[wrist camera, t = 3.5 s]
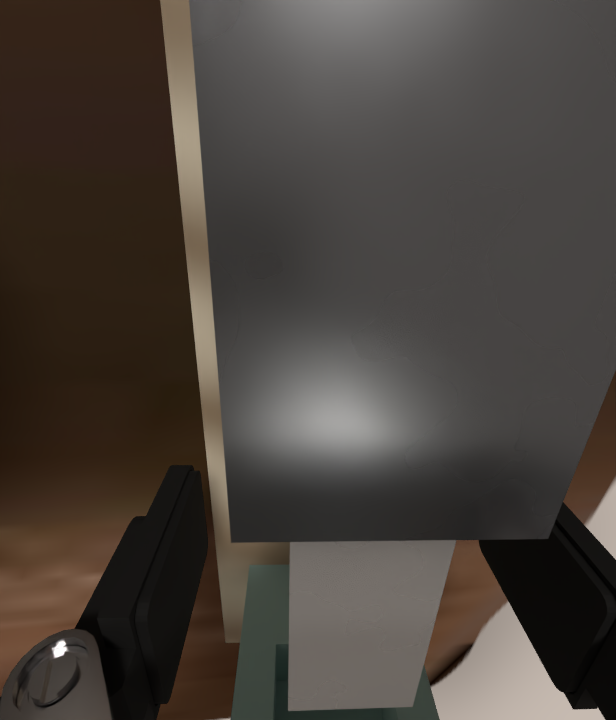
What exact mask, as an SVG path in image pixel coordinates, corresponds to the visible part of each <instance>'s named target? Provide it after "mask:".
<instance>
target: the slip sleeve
mask: <svg viewBox="0 0 616 720" xmlns="http://www.w3.org/2000/svg"><path fill="white" fill-rule="evenodd" d="M189 7H190V20H191V33H192V46H193V59H194V72H195V85H196V98H197V111H198V123H199V136H200V149H201V162H202V175H203V188H204V201H205V214H206V226H207V239H208V252H209V265H210V278H211V291H212V304H213V317H214V330H215V342H216V355H217V368H218V381H219V394H220V407H221V420H222V433H223V445H224V458H225V471H226V484H227V497H228V510H229V523H230V536H231V543H255V542H338V541H421V540H504V539H548V538H549V535H550V533H551V530H552V528H553V525H554V523H555V520H556V518H557V515H558V513H559V510H560V508H561V505H562V503H563V500H564V498H565V495H566V493H567V490H568V488H569V485H570V483H571V480H572V478H573V475H574V473H575V470H576V468H577V465H578V463H579V460H580V458H581V455H582V453H583V450H584V448H585V445H586V443H587V440H588V438H589V435H590V433H591V430H592V428H593V425H594V423H595V420H596V418H597V415H598V413H599V410H600V408H601V405H602V403H603V400H604V398H605V395H606V393H607V390H608V388H609V385H610V383H611V380H612V378H613V375H614V373H615V370H616V0H189Z"/></svg>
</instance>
